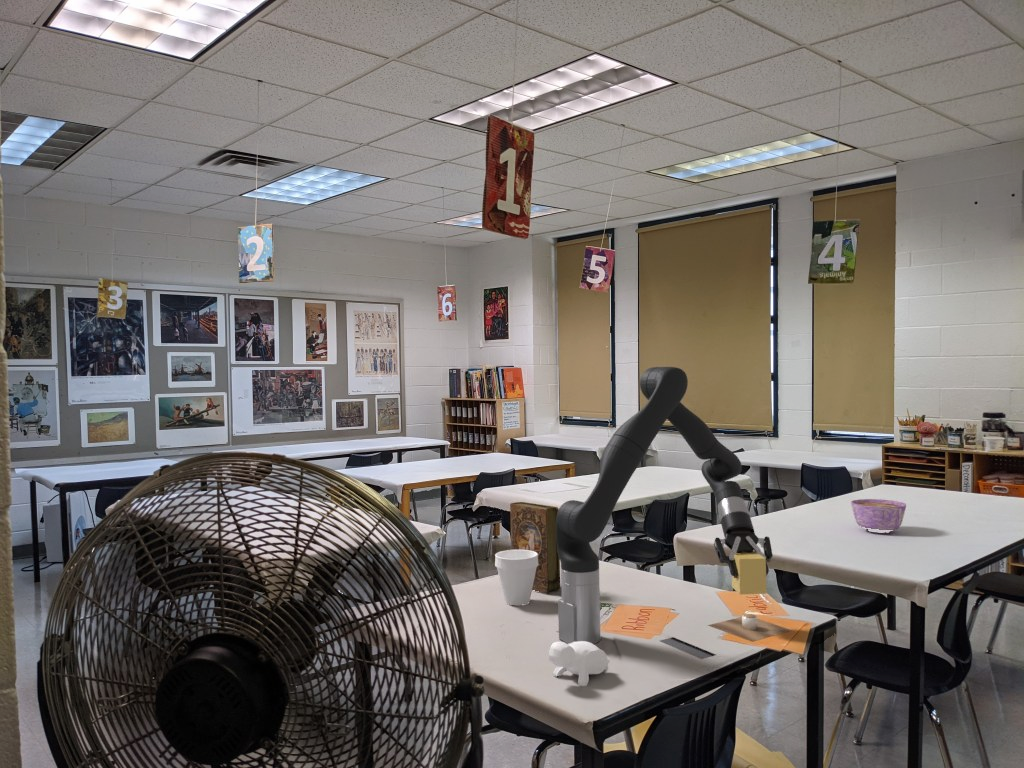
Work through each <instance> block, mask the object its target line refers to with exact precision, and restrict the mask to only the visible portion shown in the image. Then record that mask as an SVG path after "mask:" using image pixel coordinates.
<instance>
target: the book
mask: <svg viewBox="0 0 1024 768" xmlns="http://www.w3.org/2000/svg"><path fill="white" fill-rule="evenodd" d="M509 510H510V515H509V516H510V550H530V551H534V552H536V553H537V554H538V566H537V568H536V573H535V578H534V582H533V587H532V590H535V591H534V592H536V591H539V592H538V593H540V592H542V593H541V594H545V593H546V594H548V593H549V592H553V591H558V590H560V589H561V561H560V559H559V556H558V552H557V539H556V516H557V513H558V510H559V507H558V506H553V505H547V504H540V503H539V504H538V503H534V502H525V501H517V502H511V503H510V505H509Z"/></svg>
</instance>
